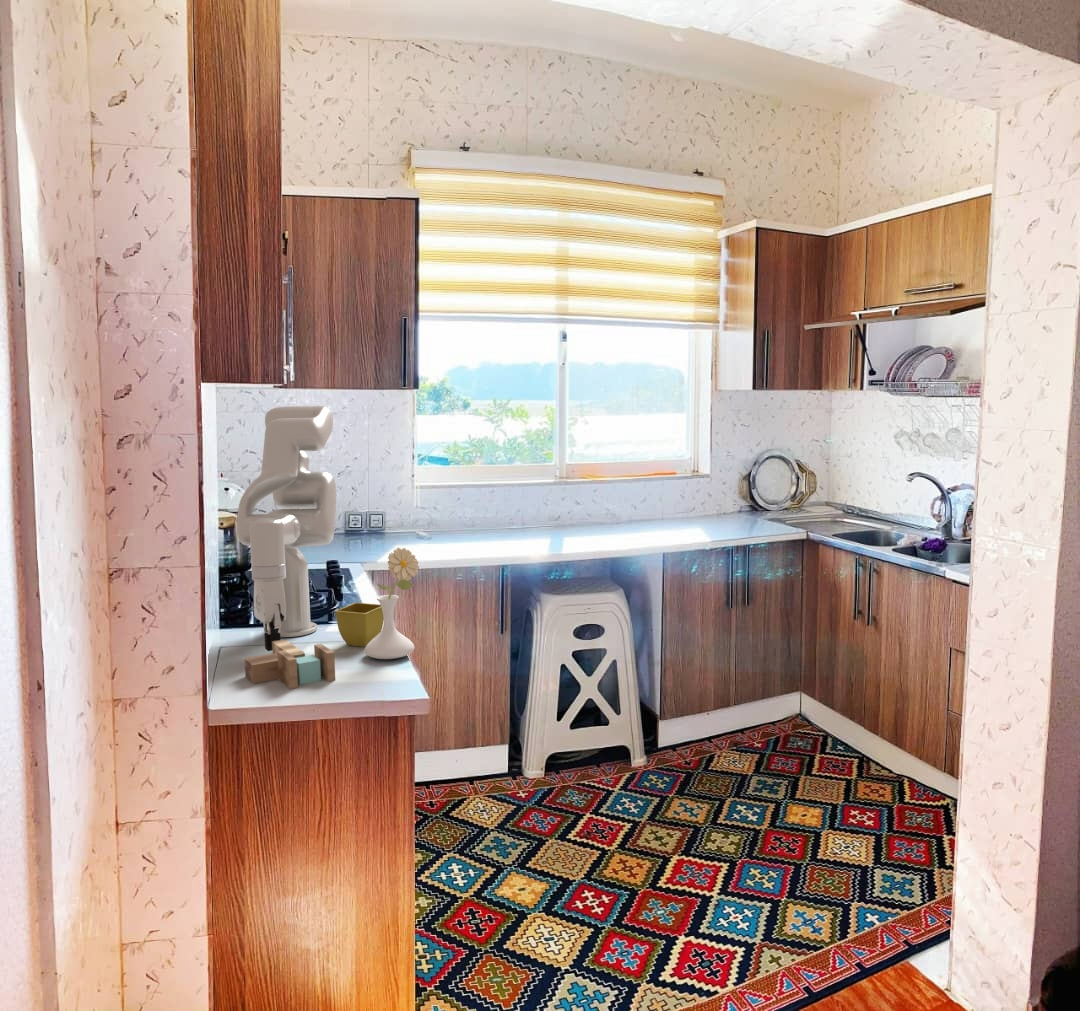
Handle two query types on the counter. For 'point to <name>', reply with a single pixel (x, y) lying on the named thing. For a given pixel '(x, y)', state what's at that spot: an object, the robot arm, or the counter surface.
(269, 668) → the pedestal
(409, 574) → the flower in vase
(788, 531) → the counter surface
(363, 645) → the flower pot
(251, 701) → the counter surface
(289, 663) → the channel
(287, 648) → the push bar
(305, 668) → the block
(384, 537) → the counter surface
